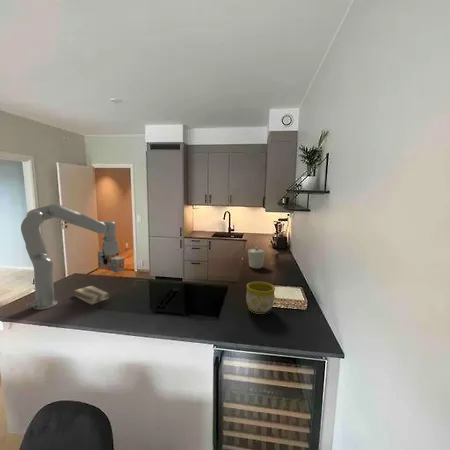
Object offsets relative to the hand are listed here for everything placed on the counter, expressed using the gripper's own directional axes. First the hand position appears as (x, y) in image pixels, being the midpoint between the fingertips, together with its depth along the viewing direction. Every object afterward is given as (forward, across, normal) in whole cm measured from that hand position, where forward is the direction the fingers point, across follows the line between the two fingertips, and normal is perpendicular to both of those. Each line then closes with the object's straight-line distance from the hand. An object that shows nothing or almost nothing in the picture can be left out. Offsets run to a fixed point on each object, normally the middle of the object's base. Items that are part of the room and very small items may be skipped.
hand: (110, 262), depth 185 cm
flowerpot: (+21, +41, -101) cm, 111 cm away
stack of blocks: (+5, 0, -1) cm, 5 cm away
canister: (+20, +126, -54) cm, 138 cm away
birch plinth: (+21, -14, 0) cm, 26 cm away
